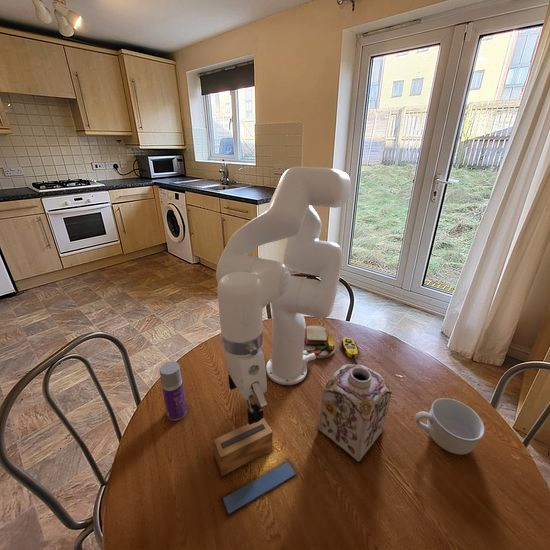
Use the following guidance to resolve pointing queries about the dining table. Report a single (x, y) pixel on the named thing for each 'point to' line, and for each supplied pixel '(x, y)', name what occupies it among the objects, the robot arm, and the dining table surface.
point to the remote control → (350, 348)
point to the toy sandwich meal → (318, 342)
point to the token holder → (242, 445)
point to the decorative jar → (354, 408)
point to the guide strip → (258, 487)
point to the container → (173, 390)
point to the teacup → (452, 425)
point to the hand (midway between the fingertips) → (245, 402)
